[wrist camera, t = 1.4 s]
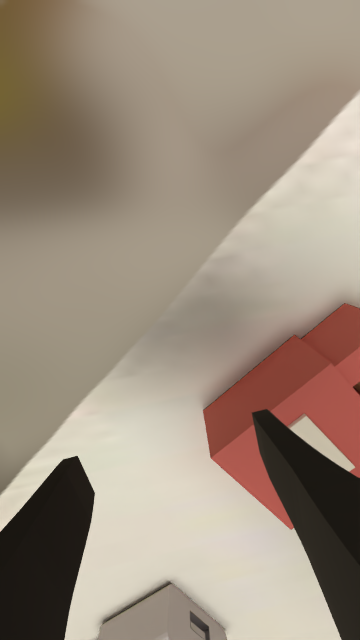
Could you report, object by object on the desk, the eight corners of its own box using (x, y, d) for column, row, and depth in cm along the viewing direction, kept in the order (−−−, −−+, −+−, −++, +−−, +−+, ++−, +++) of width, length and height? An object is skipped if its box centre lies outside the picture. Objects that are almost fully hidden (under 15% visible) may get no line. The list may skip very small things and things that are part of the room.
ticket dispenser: (339, 297, 20) (396, 315, 15) (400, 372, 21) (471, 412, 16) (203, 410, 22) (211, 461, 17) (267, 470, 23) (292, 533, 18)
